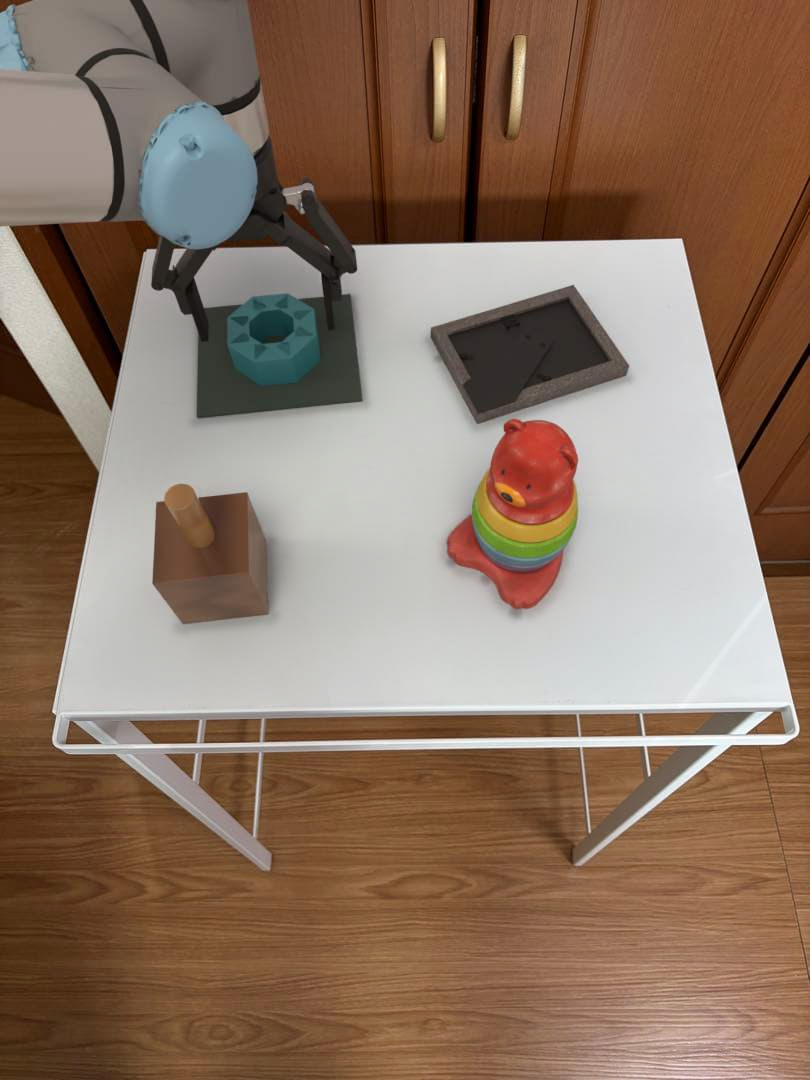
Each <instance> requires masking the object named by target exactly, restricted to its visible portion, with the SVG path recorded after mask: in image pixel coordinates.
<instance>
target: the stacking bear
mask: <svg viewBox="0 0 810 1080" xmlns="http://www.w3.org/2000/svg"><path fill="white" fill-rule="evenodd" d="M503 432H504V434H503V435H502V437H500V440H499V441H498V442H497V444H496V446H495V448H494V451H493V452H492V456H491V459H490V465H489V467H488V469H487V470H486V472H485V473H484V475H483V477H482V479H481V481H480V482H479V484H478V486H477V488H476V491H475V493H474V497H473V500H472V506H471V514H470V515H469V516H467V517H466V518H465V519H463V520H462V521H461V522H460V523H459V524H458V525H457V526H456V527H455V528H454V529H453V530H452V531H451V532H450V534H449V535H448V537H447V540H446V546H447V555H448V556H449V557H450V558H451V559H452V560H453V561H454V562H455V564H457V565H458V566H461V567H464V568H470V569H474V570H477V571H479V572H481V573H483V574H485V575H486V576H487V577H488V578H489V579H490V580H491V581H492V582H493V583H494V585H495V586H496V589H497V591H498V594H499V597H500V598H501V600H502V601H503V602H504V603H506V604H509V605H510V606H511V607H512V608H513V609H515V610H519V609H525V610H528V609H531V608H534V607H535V606H537V605H538V604H539V603H540V602H542V600H543V599H544V598H545V597H546V596H547V594H548V593H549V592H550V590H551V589H552V587H553V586H554V584H555V583H556V580H557V577H558V576H559V573H560V570H561V567H562V564H563V563H562V562H563V558H564V557H563V555H564V549H565V548H566V546H567V545H568V543H570V540H571V538H572V537H573V535H574V533H575V530H576V528H577V523H578V517H579V501H578V491H577V486H576V485H577V484H576V483H575V480H574V478H575V475H576V473H577V468H578V464H579V455H578V453H577V449H576V446H575V443H574V442H573V440H572V438H571V437H570V436H569V434H568V433H567V431H566V430H564V429H563V427H561V426H560V425H558V424H556V423H554V422H552V421H548V420H542V419H532V420H526V421H522V420H521V419H517V418H511V419H508V420H507V421H505V422H504V423H503Z"/></svg>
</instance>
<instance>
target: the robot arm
mask: <svg viewBox="0 0 810 1080" xmlns="http://www.w3.org/2000/svg"><path fill="white" fill-rule="evenodd" d="M249 9H250V8H249V3H248V0H30V1H27V2H24V3H21V4H19V5H15V3H14V4H10V5H8V6H7V8H6V10H4V11H1V12H0V227H18V226H38V225H57V224H76V223H94V222H95V223H98V222H100V223H101V222H111V223H113V222H114V223H116V222H117V223H119V222H133V221H134V222H136V221H141V222H143V221H144V222H145V223H146V224H147V226H148V227H150V229H151V230H152V231H153V232H154V233H155V234H157V235H159V238H158V242H157V247H156V251H155V253H154V258H153V263H152V269H151V280H150V281H151V284H150V286H151V289H152V290H154V291H156V292H160V291H163V290H164V289H166V290H170V291H172V292H173V294H174V296H175V299H176V302H177V304H178V307H179V310H180V312H181V314H183V315H184V316H188V315H191V316H192V319H193V321H194V324H195V328H196V330H197V334H198V333H199V336H200V339H201V342H206V341H208V339H209V322H208V319H207V316H206V313H205V310H204V308H205V307H204V304H203V301H202V297H201V295H200V291H199V288H198V285H197V282H196V280H195V277H196V275H197V274H198V272H199V270H201V268H202V266H203V265H204V263H205V262H206V260H207V259H208V258H209V256H210V255H211V253H212V252H213V251H216V250H217V248H218V247H219V245H220V244H221V243H223V242H225V241H227V240H229V242H230V243H240V242H243V241H246V240H248V241H263V240H265V239H264V238H265V237H269V238H270V239H272V241H274V242H275V243H276V244H278V245H280V246H282V245H284V246H285V247H287V248H288V249H289V250H291V251H292V252H293V253H295V254H296V255H297V256H299V257H300V258H301V259H302V260H304V262H307V263H308V264H309V265H310V266H312V267H313V268H314V269H315V270H317V271H318V272H320V278H321V288H322V297H323V296H324V304H325V311H326V319H327V326H328V330H335V325H334V314H333V305H332V301H341V299H342V295H343V290H342V289H343V288H342V281H341V278H342V276H343V275H344V274H346V273H347V274H351V275H352V274H355V273H357V271H358V262H357V253H356V249H355V247H353V245H352V244H351V243H350V241H349V240H348V239H347V236H345V234H344V233H343V231H342V230H341V229H340V227H339V225H338V224H337V223H336V222H335V220H334V219H333V217H332V216H331V215H330V213H329V212H328V211H327V209H326V208H325V207H324V205H323V204H322V202H321V201H320V199H319V198H318V194H317V190H316V187H315V183H314V181H313V179H312V178H310V177H304V178H302V179H301V180H300V185H295V186H291V187H284V186H283V185H282V184H281V183H280V181H279V177H278V171H277V167H276V160H275V155H274V149H273V142H272V139H271V137H270V125H269V120H268V119H269V118H268V114H267V109H266V108H267V107H266V103H265V97H264V90H263V85H262V82H261V77H260V70H259V65H258V59H257V53H256V47H255V40H254V34H253V28H252V23H251V22H252V21H251V14H250V10H249ZM287 205H290V206H293V207H294V208H295V209H296V211H298V213H299V214H300V215H305V217H306V219H307V221H308V223H309V225H310V226H311V228H313V230H314V231H315V233H316V234H317V236H318V237H319V238H320V239H321V240H322V242H323V243H324V244H325V245H326V246H325V245H324V244H323V243H322V242H320V241H318V240H317V238H315V237H314V236H313V235H311V234H310V233H309V232H308V231H306V229H304V228H303V227H301V226H300V225H299V224H298V223H296V222H295V221H294V220H292V218H291V217H290V215H289V214H288V213H287V211H285V210H286V209H287ZM176 245H177V246H179V247H183V248H186V249H185V251H184V252H183V254H182V255H181V257H180V258H179V260H177V261H178V262H177V263H176V265H174V264H172V269H170V266H171V262H172V258H173V254H174V250H175V247H176Z"/></svg>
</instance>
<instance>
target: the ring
mask: <svg viewBox="0 0 810 1080" xmlns="http://www.w3.org/2000/svg"><path fill="white" fill-rule="evenodd" d="M298 299H299V298H296V297H295V296H293V295H292V294H290V293H289V292H288V293H286V292H285V293H278V294H265V295H255V296H251V297H250V298H249V299H248V300H247V301H245V302H244V303H242V304H243V305H242V304H241V305H242V306H241V307H239V308H238V309H237V310H236V311H235V312H233V313H232V314H231V315H230V316H229V317H228V318H227V345H228V348H229V351H230V354H231V357H232V360H233V363H234V366H235V369H236V370H237V371H239V372H241V373H242V374H244V375H245V376H247V377H248V378H250V379H251V380H253V381H254V382H256V383H257V384H259V385H260V386H268V385H278V384H288V383H297V382H298V381H299V380H300V379H301V378H302V377H303V376H305V375H306V374H307V373H308V372H309V371H310V370H311V369H312V368H313V367H314V366H315V365H316V364H318V363H319V362H320V360H321V357H320V345H319V334H318V328H317V322H316V316H315V310H314V309H313V308H312V307H310V306H308V305H307V304H305V303H303V302H301V301H300V300H298ZM280 335H286V336H288V337H287V338H286V339H285V340H283V341H282V342H278V343H268V344H262V343H261V342H263V341H264V340H265V339H266V338H267V337H270V336H280Z"/></svg>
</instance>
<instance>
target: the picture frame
mask: <svg viewBox="0 0 810 1080" xmlns="http://www.w3.org/2000/svg"><path fill="white" fill-rule="evenodd" d="M430 339H431V341H432V342H433V345H434V346H435V348H436V350H437V352H438V354H439V356H440V358H441V360H442V361H443V363H444V366H445V367H446V369H447V370H448V372H449V374H450V376H451V378H452V380H453V382H454V384H455V385H456V387H457V390H458V391H459V393H460V395H461V397H462V399H463V401H464V402H465V404H466V406H467V408H468V410H469V412H470V414H471V415H472V417H473V419H474V421H475V424H476V425H479V424H481V423H485V422H488V421H490V420H494V419H497V418H500V417H503V416H506V415H509V414H512V413H515V412H519V411H522V410H524V409H528V408H531V407H534V406H536V405H541V404H543V403H546V402H549V401H552V400H555V399H559V398H561V397H565V396H567V395H570V394H574V393H576V392H580V391H582V390H583V391H584V390H586V389H590V388H593V387H596V386H598V385H602V384H605V383H608V382H611V381H614V380H616V379H621V378H623V377H626V376H627V374H628V371H629V369H630V365H629V363H628V361H627V360H626V359H625V357H624V356H623V354H622V353H621V352H620V349H619V348H618V347H617V345H616V344H615V343H614V342H613V339H612V338H611V336H610V335H609V334H608V333H607V331H606V329H605V328H604V327H603V325H602V324H601V322H600V321H599V320H598V318H597V317H596V315H595V314H594V312H593V311H592V309H591V308H590V306H589V305H588V303H587V302H586V301H585V299H584V298H583V296H582V295H581V293H580V292H579V290H578V289H577V288H576V286H575V284H572V285H568V286H565V287H562V288H558V289H555V290H551V291H548V292H545V293H542V294H538V295H535V296H531V297H527V298H525V299H522V300H518V301H514V302H511V303H508V304H504V305H501V306H498V307H495V308H491V309H488V310H484V311H482V312H478V313H475V314H472V315H469V316H465V317H462V318H458V319H455V320H451V321H448V322H445V323H442V324H437V325H435V326H432V327H430Z"/></svg>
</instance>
